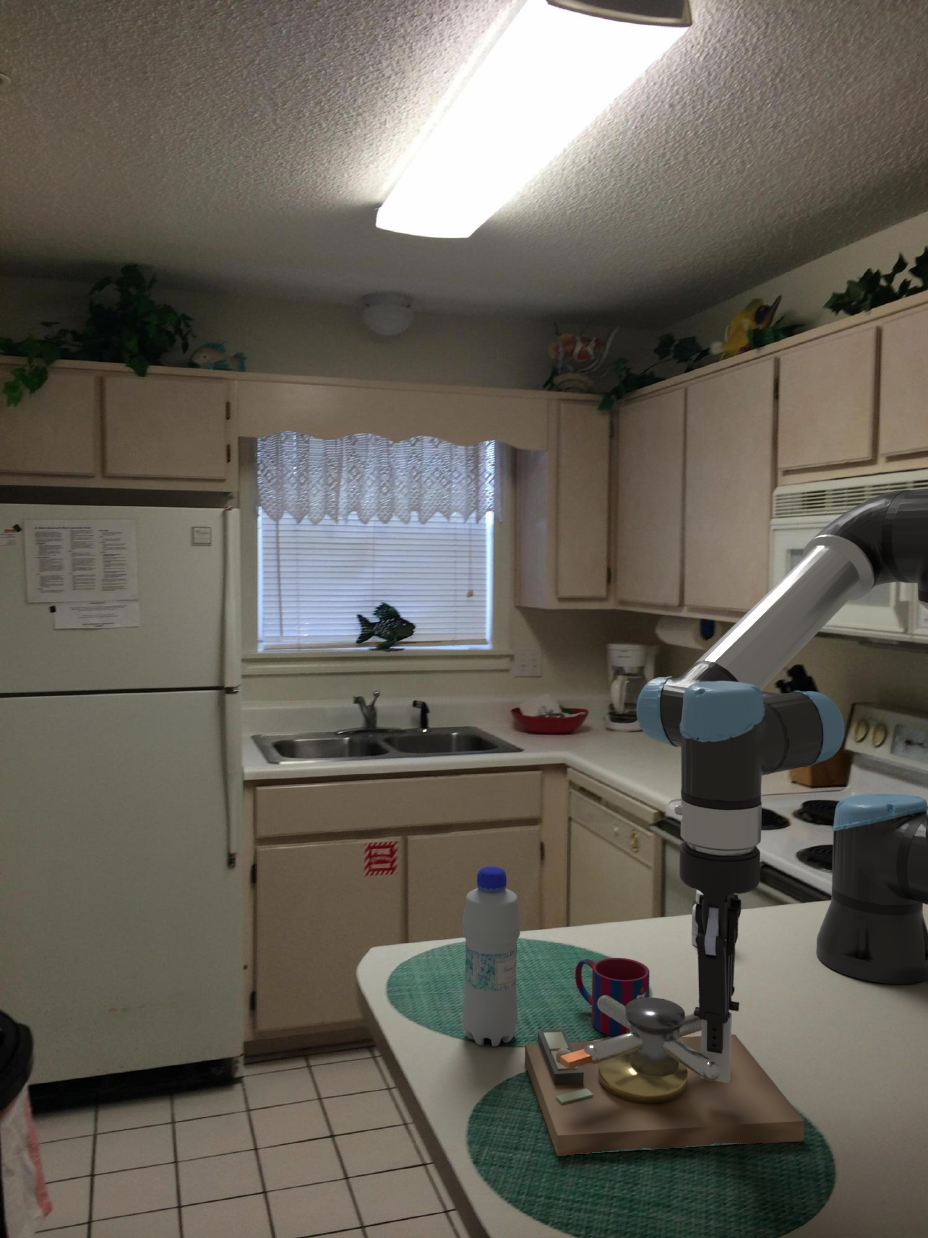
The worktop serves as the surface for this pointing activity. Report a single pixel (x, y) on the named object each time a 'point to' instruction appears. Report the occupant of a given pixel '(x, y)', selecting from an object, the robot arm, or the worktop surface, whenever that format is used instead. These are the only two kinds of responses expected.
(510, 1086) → the worktop surface
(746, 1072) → the stand
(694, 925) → the pill bottle
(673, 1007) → the capstan
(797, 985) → the worktop surface
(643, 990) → the mug
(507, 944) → the bottle
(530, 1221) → the worktop surface
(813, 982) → the worktop surface
